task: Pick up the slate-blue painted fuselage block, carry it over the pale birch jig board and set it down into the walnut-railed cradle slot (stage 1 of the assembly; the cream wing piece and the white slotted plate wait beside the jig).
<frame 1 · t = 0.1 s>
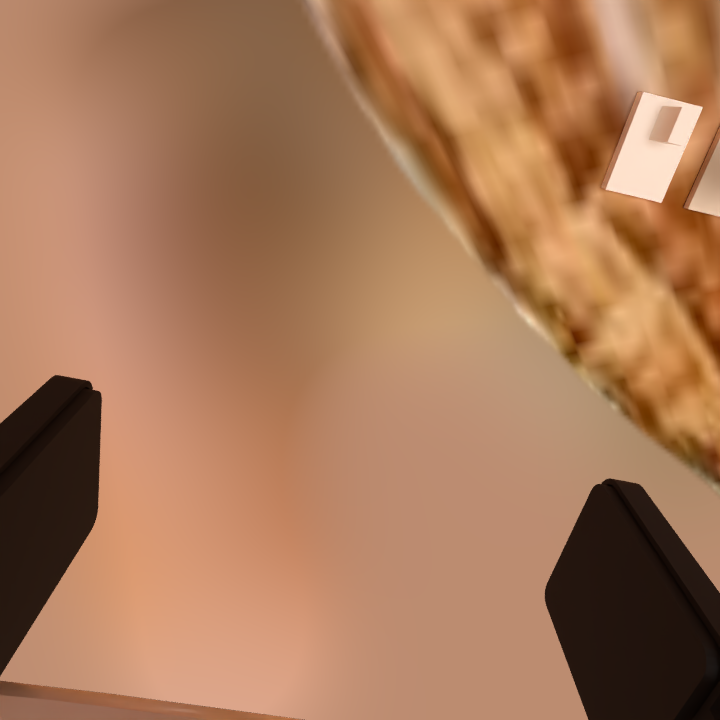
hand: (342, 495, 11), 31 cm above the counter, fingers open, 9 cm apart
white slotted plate: (644, 147, 38), on the counter
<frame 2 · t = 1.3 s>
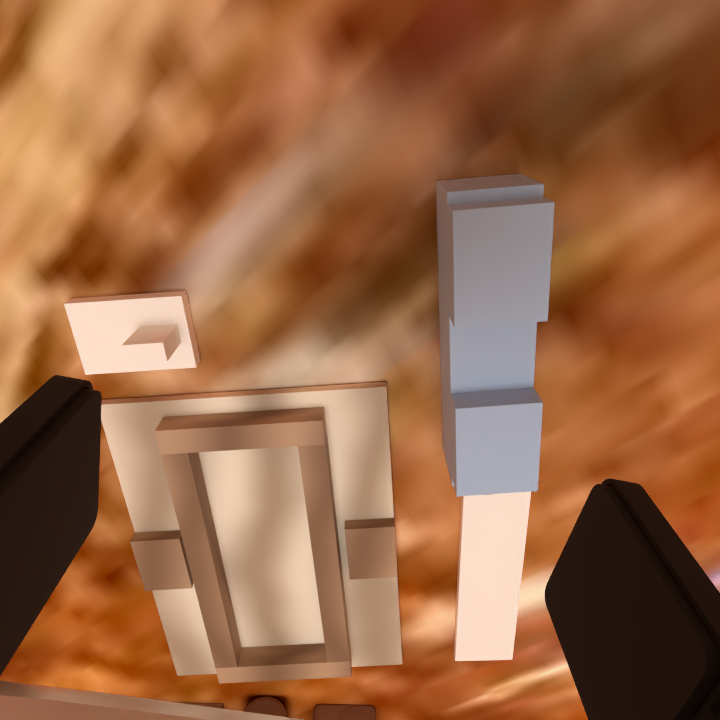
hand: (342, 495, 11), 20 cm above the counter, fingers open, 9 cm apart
jig: (269, 543, 36), on the counter
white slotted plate: (140, 327, 31), on the counter
fuselage: (476, 322, 30), on the counter
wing: (486, 560, 38), on the counter
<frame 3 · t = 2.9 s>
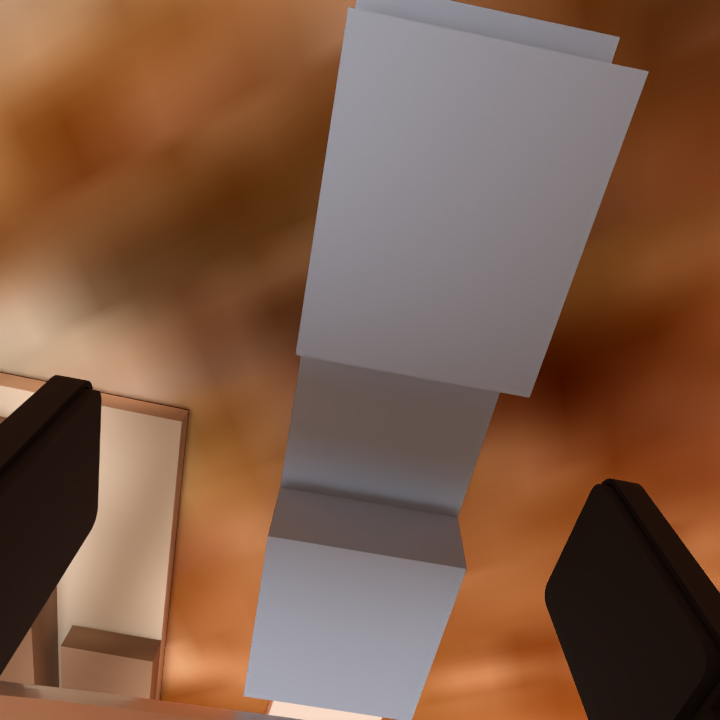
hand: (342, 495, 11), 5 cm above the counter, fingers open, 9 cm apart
fuselage: (386, 347, 15), on the counter
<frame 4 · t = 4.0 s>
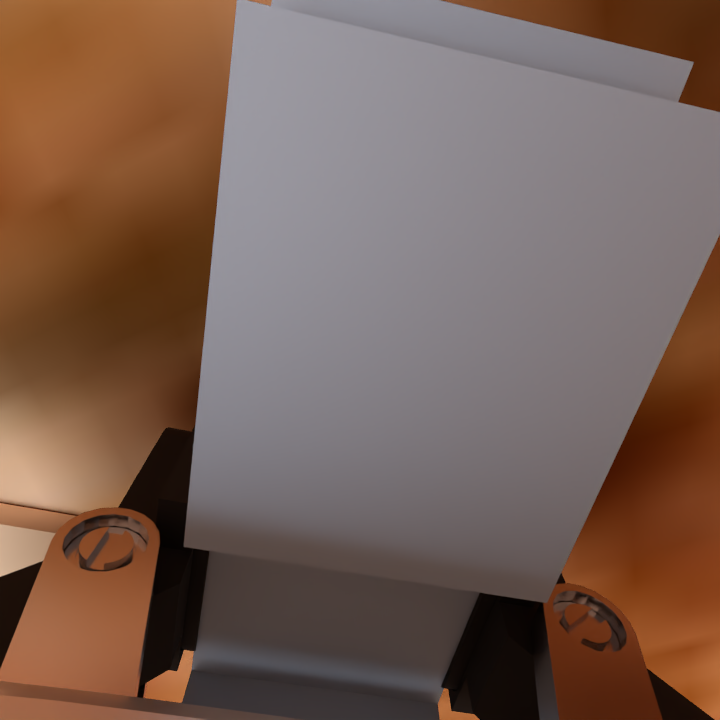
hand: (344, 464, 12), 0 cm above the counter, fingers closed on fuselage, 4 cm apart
fuselage: (346, 446, 12), on the counter, touching gripper
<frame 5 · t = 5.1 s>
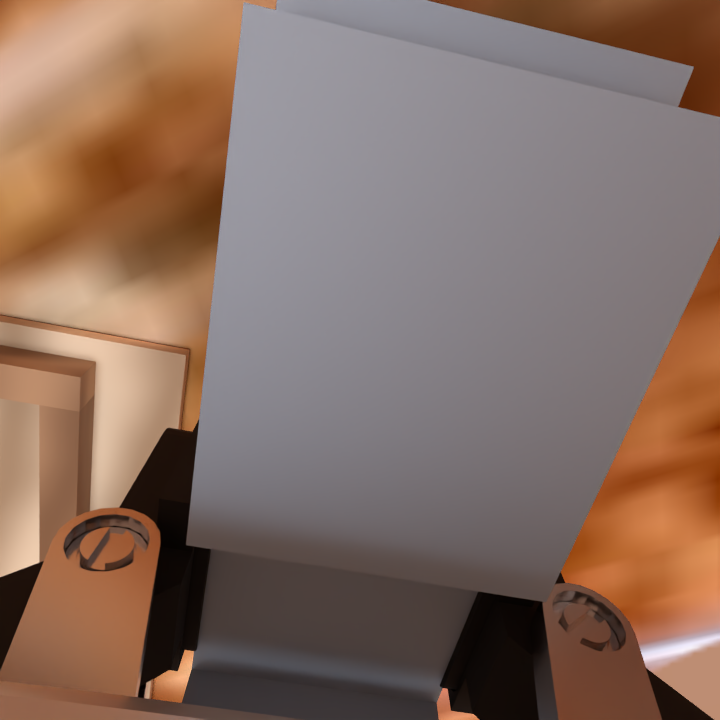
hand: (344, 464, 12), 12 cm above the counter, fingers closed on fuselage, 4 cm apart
fuselage: (346, 445, 12), point 12 cm above the counter, touching gripper
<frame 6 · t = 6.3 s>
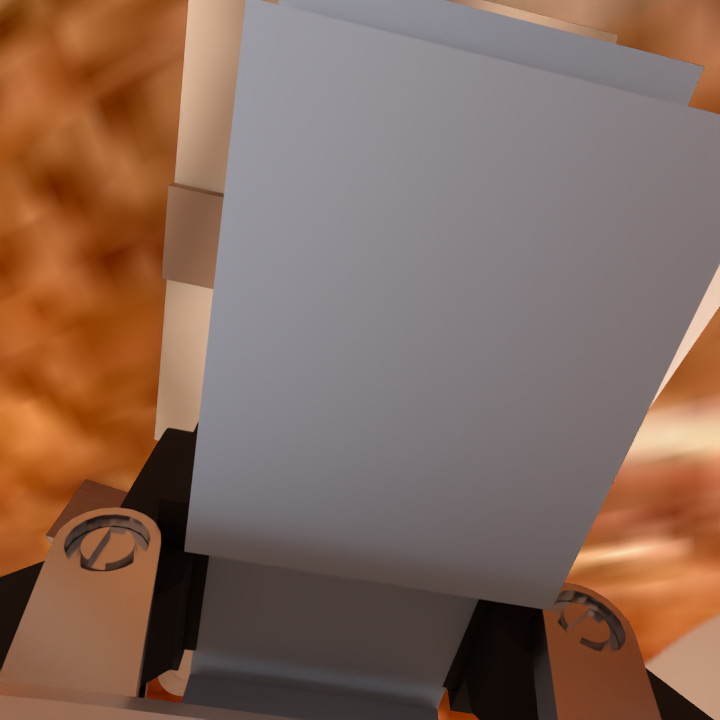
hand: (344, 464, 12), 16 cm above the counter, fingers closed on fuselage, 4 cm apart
wooden block set: (200, 609, 36), on the counter
jig: (351, 264, 26), on the counter
fuselage: (346, 448, 12), point 15 cm above the counter, touching gripper
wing: (610, 376, 29), on the counter
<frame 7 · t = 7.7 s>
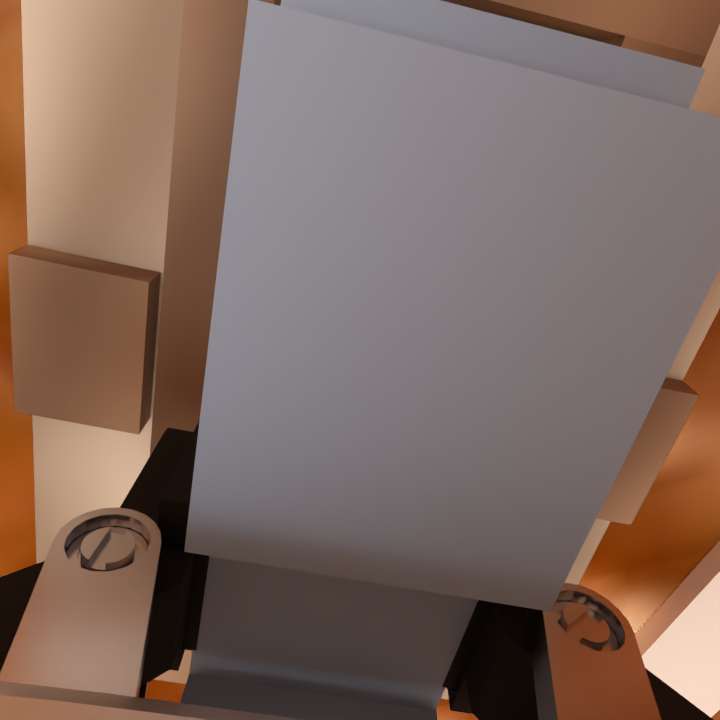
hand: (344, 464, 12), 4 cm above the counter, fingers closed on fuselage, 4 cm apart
jig: (354, 377, 15), on the counter
fuselage: (346, 448, 12), point 3 cm above the counter, touching gripper
when the fingers open (3 cm above the counter, at t = 8.1 s): fuselage drops 2 cm, resting on jig.
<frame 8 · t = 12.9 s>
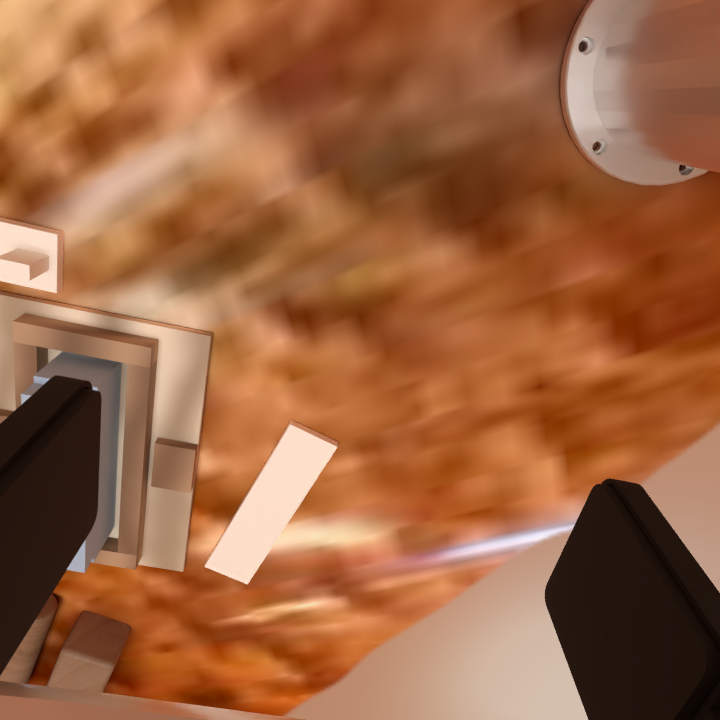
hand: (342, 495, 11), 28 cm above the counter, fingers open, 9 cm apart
wooden block set: (22, 646, 54), on the counter
jig: (92, 442, 44), on the counter
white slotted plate: (19, 249, 38), on the counter
fuselage: (90, 444, 43), point 1 cm above the counter, touching jig
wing: (269, 500, 47), on the counter
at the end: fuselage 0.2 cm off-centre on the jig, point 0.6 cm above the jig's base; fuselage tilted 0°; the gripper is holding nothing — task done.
